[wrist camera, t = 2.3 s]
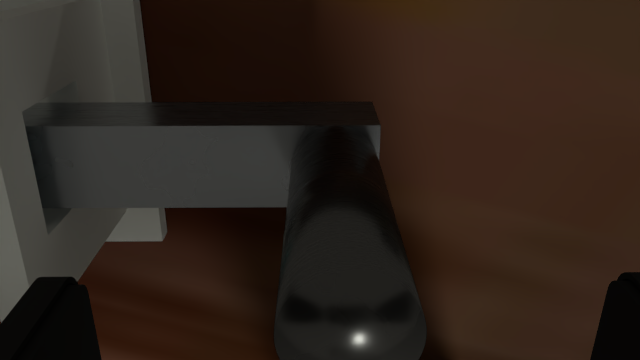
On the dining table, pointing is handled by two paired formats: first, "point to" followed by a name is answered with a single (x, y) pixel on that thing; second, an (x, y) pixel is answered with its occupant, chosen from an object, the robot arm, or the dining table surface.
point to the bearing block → (62, 87)
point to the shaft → (256, 202)
